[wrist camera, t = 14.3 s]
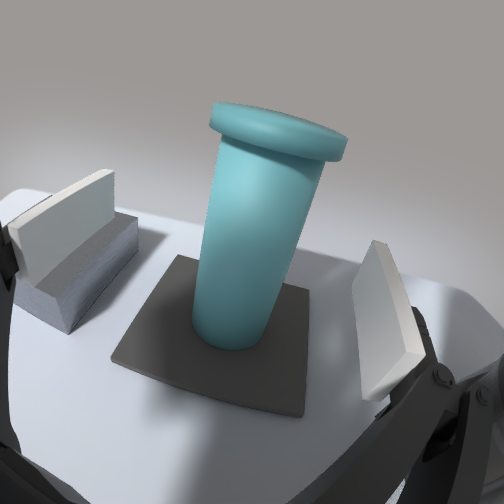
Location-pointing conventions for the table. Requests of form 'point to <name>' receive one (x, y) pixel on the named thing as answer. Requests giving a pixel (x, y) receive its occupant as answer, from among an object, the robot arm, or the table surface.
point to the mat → (215, 359)
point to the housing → (80, 274)
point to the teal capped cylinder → (255, 217)
